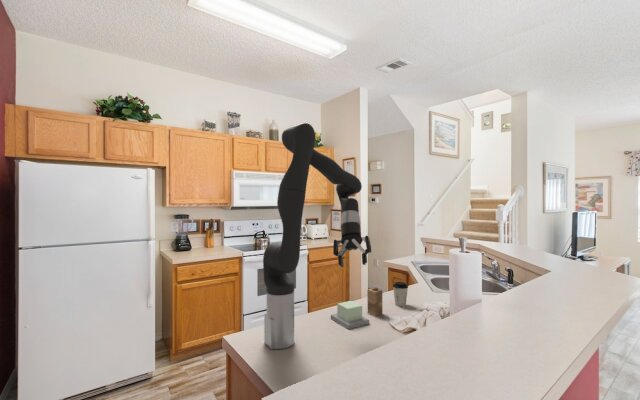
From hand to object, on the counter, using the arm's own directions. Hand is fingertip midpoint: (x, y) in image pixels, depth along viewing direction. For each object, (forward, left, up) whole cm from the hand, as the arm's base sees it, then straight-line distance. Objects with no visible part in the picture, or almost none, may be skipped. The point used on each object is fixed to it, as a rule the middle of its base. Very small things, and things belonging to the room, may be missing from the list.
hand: (352, 265), depth 113 cm
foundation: (+4, +7, -24) cm, 25 cm away
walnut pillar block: (+18, +8, -24) cm, 31 cm away
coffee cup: (+35, +10, -24) cm, 44 cm away
